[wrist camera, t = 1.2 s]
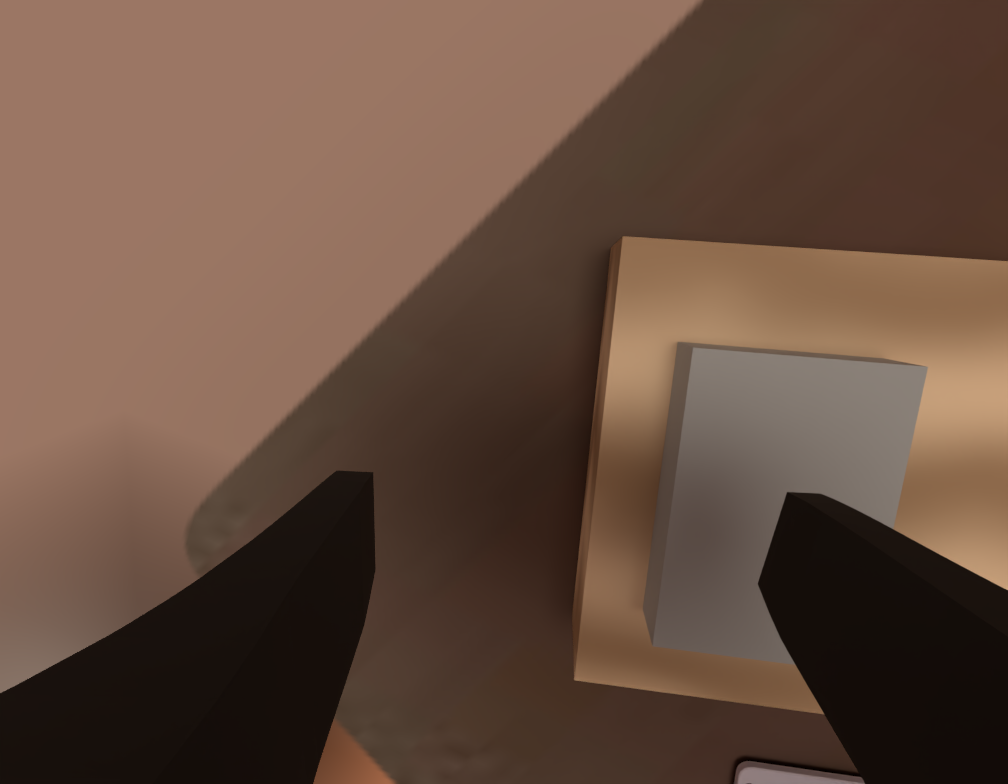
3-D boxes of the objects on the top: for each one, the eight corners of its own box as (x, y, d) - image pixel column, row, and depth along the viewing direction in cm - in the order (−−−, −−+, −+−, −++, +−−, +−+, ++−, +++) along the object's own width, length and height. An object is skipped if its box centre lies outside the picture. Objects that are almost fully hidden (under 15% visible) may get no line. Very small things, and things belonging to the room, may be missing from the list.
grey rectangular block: (829, 632, 18) (862, 673, 16) (642, 609, 18) (652, 646, 16) (884, 358, 16) (928, 367, 14) (677, 341, 17) (693, 347, 15)
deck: (925, 659, 22) (1004, 738, 18) (572, 615, 23) (574, 680, 19) (1015, 274, 19) (1133, 269, 15) (610, 247, 20) (622, 236, 16)
